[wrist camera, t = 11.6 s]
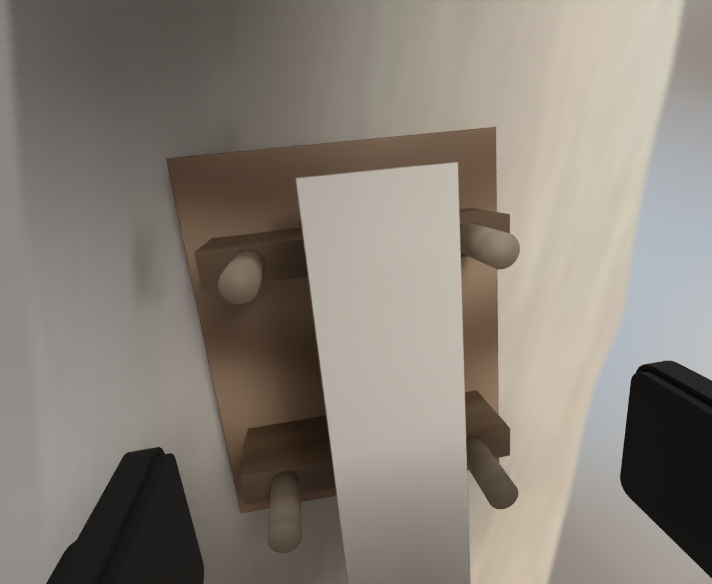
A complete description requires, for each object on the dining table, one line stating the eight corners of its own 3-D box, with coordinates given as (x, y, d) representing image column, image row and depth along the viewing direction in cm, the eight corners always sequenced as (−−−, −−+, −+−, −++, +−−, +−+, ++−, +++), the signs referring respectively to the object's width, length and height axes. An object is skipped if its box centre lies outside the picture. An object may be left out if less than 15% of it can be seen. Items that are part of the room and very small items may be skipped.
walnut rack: (174, 159, 16) (97, 149, 10) (482, 129, 17) (594, 103, 11) (243, 493, 20) (221, 642, 14) (487, 449, 21) (571, 565, 15)
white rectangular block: (294, 177, 13) (295, 178, 9) (409, 166, 13) (457, 162, 9) (338, 509, 16) (352, 614, 12) (428, 492, 16) (470, 588, 13)
